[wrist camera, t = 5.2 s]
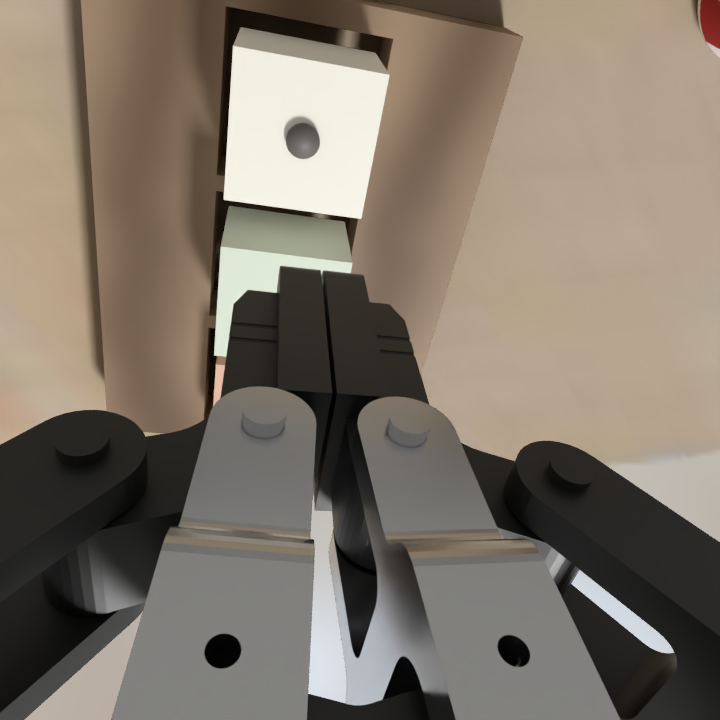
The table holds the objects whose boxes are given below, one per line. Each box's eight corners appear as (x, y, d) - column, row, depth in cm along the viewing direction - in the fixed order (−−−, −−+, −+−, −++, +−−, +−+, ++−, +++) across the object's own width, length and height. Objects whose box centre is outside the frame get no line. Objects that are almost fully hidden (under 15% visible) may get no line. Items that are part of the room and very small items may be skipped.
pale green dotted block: (344, 221, 24) (352, 265, 21) (327, 318, 26) (332, 369, 23) (228, 205, 23) (220, 249, 20) (222, 306, 25) (213, 358, 22)
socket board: (504, 27, 22) (522, 37, 21) (392, 420, 33) (398, 449, 31) (96, -58, 20) (76, -55, 18) (118, 399, 30) (107, 429, 29)
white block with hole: (375, 52, 20) (390, 76, 17) (352, 181, 23) (361, 221, 20) (240, 27, 20) (232, 47, 17) (231, 163, 22) (222, 202, 19)
